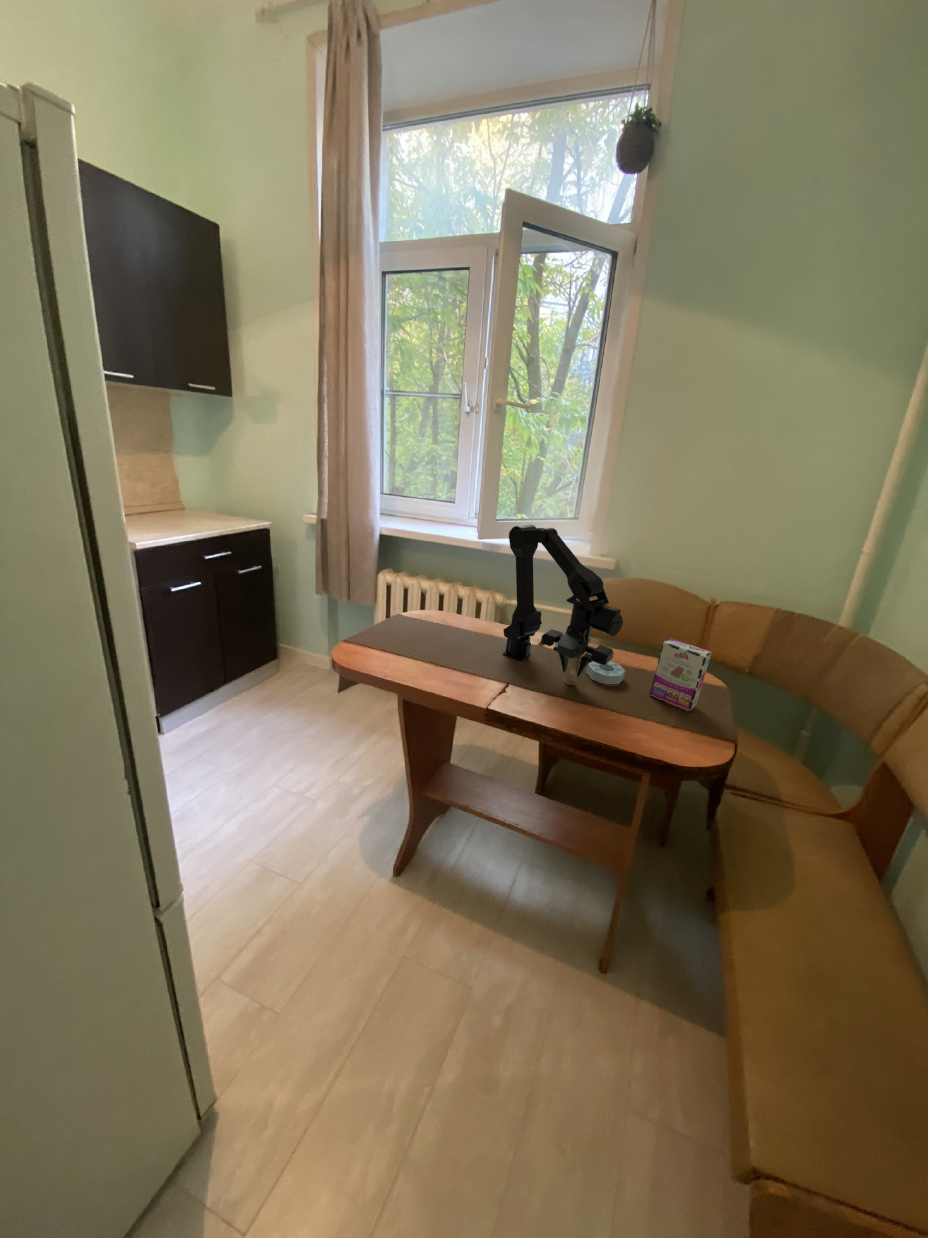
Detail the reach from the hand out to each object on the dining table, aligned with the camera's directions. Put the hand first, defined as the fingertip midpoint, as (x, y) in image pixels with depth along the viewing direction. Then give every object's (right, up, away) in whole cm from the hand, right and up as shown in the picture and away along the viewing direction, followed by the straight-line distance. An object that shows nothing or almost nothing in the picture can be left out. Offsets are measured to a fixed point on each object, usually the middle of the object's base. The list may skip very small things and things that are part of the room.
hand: (571, 673), depth 133 cm
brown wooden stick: (+11, +1, +12) cm, 16 cm away
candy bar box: (+26, -7, -3) cm, 27 cm away
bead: (+11, -2, +7) cm, 13 cm away
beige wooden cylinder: (0, -3, +1) cm, 3 cm away
